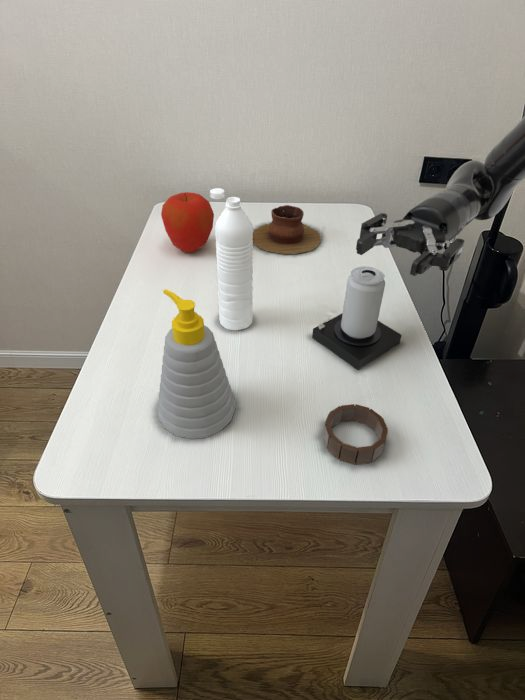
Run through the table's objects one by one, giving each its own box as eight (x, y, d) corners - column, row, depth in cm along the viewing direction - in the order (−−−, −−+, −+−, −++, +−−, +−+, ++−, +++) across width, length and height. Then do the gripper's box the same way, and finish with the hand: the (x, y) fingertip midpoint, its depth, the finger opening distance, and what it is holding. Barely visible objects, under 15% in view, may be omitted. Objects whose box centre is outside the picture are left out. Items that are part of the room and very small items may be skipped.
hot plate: (399, 344, 92) (402, 331, 90) (357, 370, 86) (360, 357, 84) (353, 315, 98) (355, 303, 96) (311, 337, 93) (313, 325, 91)
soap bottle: (204, 371, 85) (195, 269, 72) (251, 411, 78) (251, 306, 65) (142, 406, 78) (120, 301, 65) (188, 453, 71) (173, 346, 58)
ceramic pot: (261, 218, 132) (262, 192, 127) (327, 227, 128) (329, 201, 124) (241, 249, 118) (241, 222, 114) (313, 260, 115) (316, 232, 110)
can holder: (396, 443, 73) (400, 430, 72) (355, 474, 69) (358, 461, 67) (351, 409, 79) (354, 395, 77) (311, 436, 74) (313, 423, 72)
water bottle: (259, 322, 96) (261, 199, 80) (233, 335, 93) (230, 210, 77) (231, 302, 101) (227, 184, 85) (205, 315, 98) (197, 193, 82)
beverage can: (379, 325, 92) (390, 269, 84) (369, 344, 87) (381, 288, 80) (346, 316, 94) (355, 261, 86) (335, 335, 89) (343, 278, 82)
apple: (208, 263, 113) (204, 205, 104) (158, 259, 114) (150, 201, 105) (220, 239, 122) (218, 183, 113) (174, 234, 124) (168, 179, 115)
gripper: (401, 185, 78) (345, 218, 69) (488, 211, 71) (440, 251, 62) (392, 228, 83) (339, 264, 74) (473, 256, 76) (426, 300, 67)
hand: (385, 258), depth 68 cm, fingers open, 8 cm apart
